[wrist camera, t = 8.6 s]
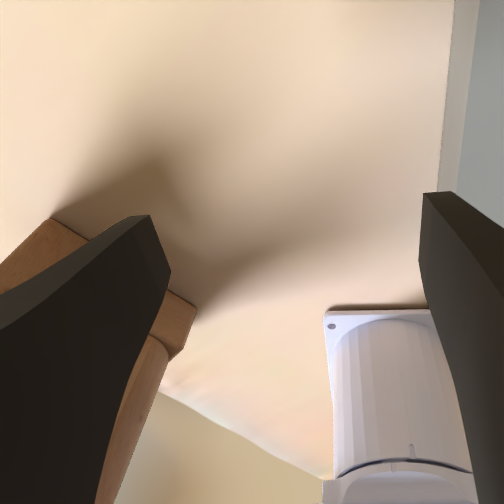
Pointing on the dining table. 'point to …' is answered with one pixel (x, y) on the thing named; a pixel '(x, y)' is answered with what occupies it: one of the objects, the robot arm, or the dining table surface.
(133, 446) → the wooden block
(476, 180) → the board
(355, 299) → the dining table surface
